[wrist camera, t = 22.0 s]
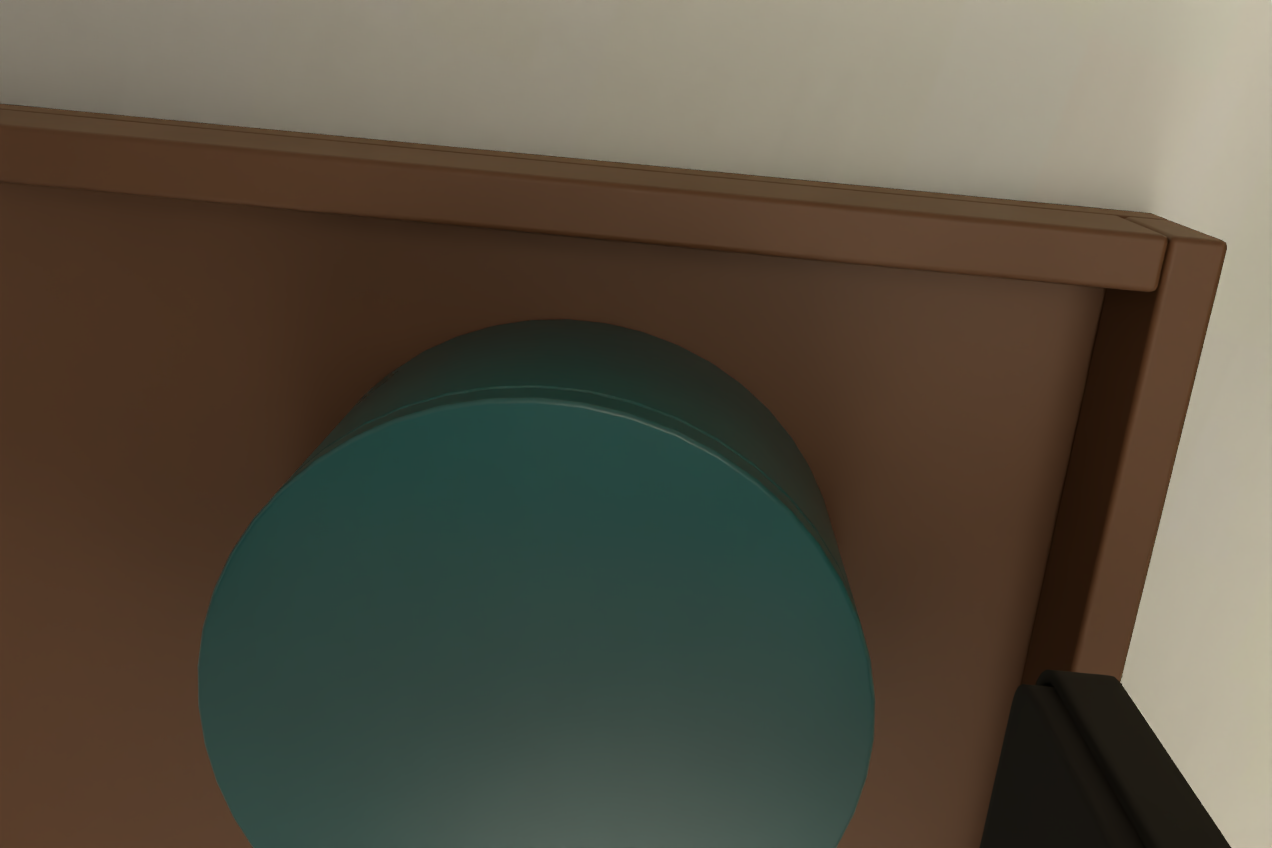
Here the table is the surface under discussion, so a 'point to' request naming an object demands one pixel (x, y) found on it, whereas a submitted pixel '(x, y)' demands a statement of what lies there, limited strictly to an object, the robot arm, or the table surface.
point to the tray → (552, 290)
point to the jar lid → (542, 615)
